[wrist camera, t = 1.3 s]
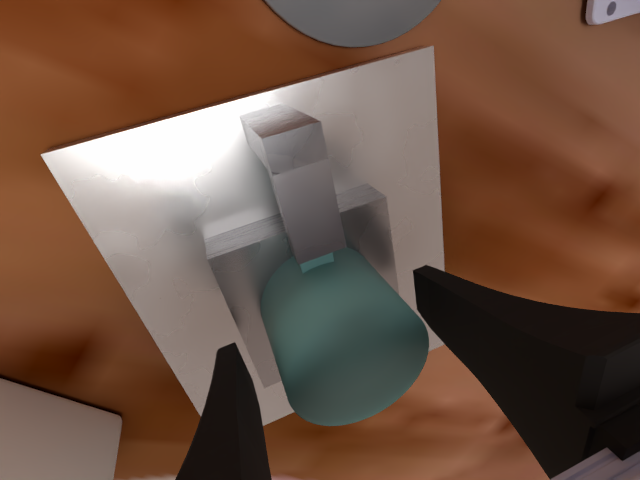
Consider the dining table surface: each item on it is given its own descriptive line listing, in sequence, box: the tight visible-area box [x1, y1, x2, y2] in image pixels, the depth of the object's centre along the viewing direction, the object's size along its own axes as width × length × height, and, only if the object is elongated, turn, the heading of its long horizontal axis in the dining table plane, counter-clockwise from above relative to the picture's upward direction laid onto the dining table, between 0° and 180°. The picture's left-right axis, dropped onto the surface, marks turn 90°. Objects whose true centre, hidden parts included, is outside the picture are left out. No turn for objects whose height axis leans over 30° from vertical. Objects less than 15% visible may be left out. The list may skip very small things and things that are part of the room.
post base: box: [40, 46, 445, 426], centre depth 15 cm, size 14×16×5 cm
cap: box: [261, 247, 429, 426], centre depth 13 cm, size 5×8×4 cm, turn 12°
